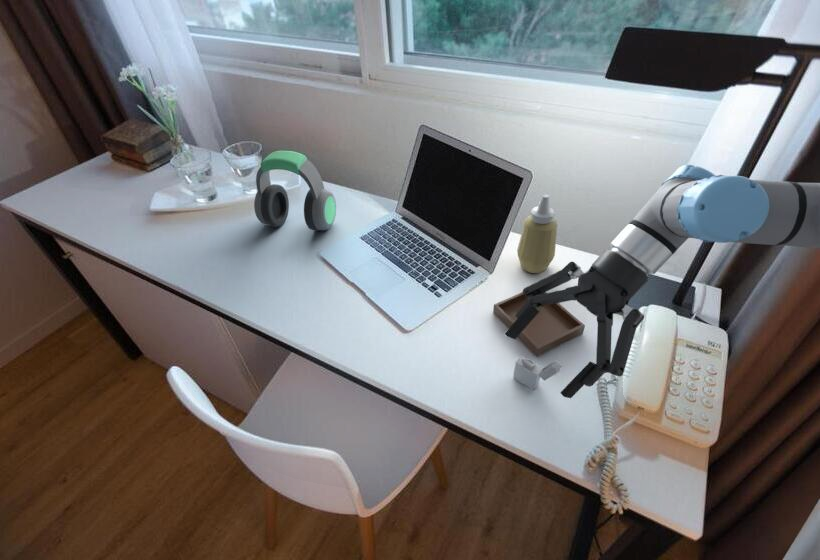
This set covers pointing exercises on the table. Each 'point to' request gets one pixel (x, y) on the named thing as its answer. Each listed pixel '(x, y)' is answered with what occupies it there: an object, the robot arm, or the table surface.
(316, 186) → the headphones
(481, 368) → the table surface
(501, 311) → the tray
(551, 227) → the squeeze bottle
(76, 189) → the table surface
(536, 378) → the lighter
